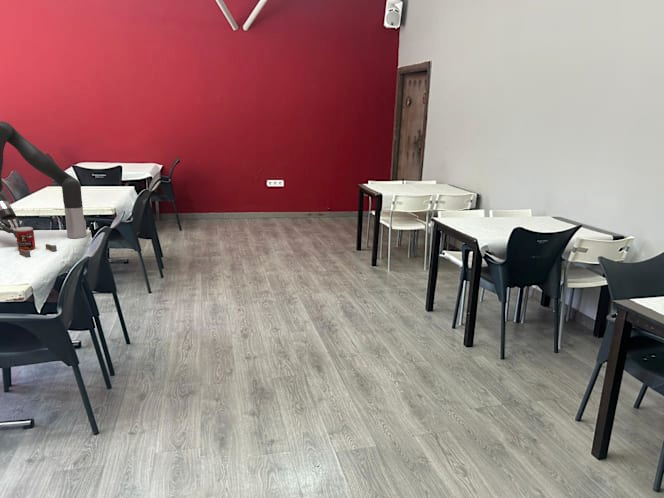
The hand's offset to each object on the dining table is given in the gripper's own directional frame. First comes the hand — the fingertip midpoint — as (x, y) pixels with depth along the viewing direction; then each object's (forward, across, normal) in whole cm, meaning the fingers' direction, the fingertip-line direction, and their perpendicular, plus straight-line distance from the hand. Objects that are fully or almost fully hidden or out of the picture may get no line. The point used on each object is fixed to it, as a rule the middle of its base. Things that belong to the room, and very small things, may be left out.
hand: (19, 237), depth 262 cm
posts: (+18, 0, -11) cm, 21 cm away
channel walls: (+15, 0, -8) cm, 17 cm away
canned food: (+8, 0, -1) cm, 8 cm away
